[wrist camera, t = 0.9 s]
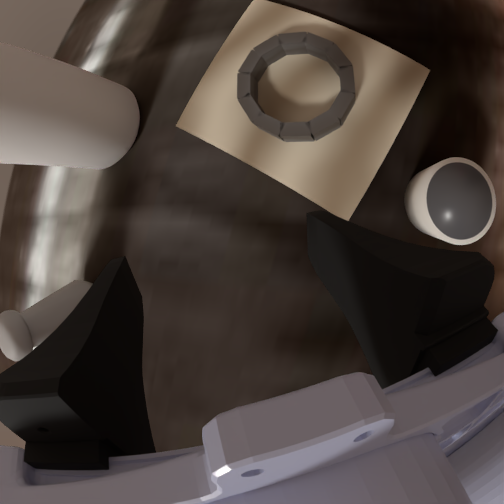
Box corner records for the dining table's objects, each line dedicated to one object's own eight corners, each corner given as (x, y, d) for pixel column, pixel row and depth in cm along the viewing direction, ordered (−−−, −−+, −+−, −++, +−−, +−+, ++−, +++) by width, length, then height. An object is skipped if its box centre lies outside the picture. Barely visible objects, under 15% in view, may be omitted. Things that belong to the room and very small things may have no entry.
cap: (474, 193, 20) (508, 190, 14) (444, 248, 21) (471, 261, 15) (423, 155, 20) (445, 139, 15) (392, 211, 22) (406, 213, 16)
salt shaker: (81, 269, 32) (-17, 295, 19) (118, 284, 30) (13, 321, 18) (81, 317, 33) (-8, 354, 21) (116, 335, 31) (24, 384, 19)
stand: (428, 73, 19) (435, 59, 16) (347, 222, 23) (346, 224, 20) (257, 2, 22) (248, -15, 19) (180, 127, 26) (163, 121, 23)
